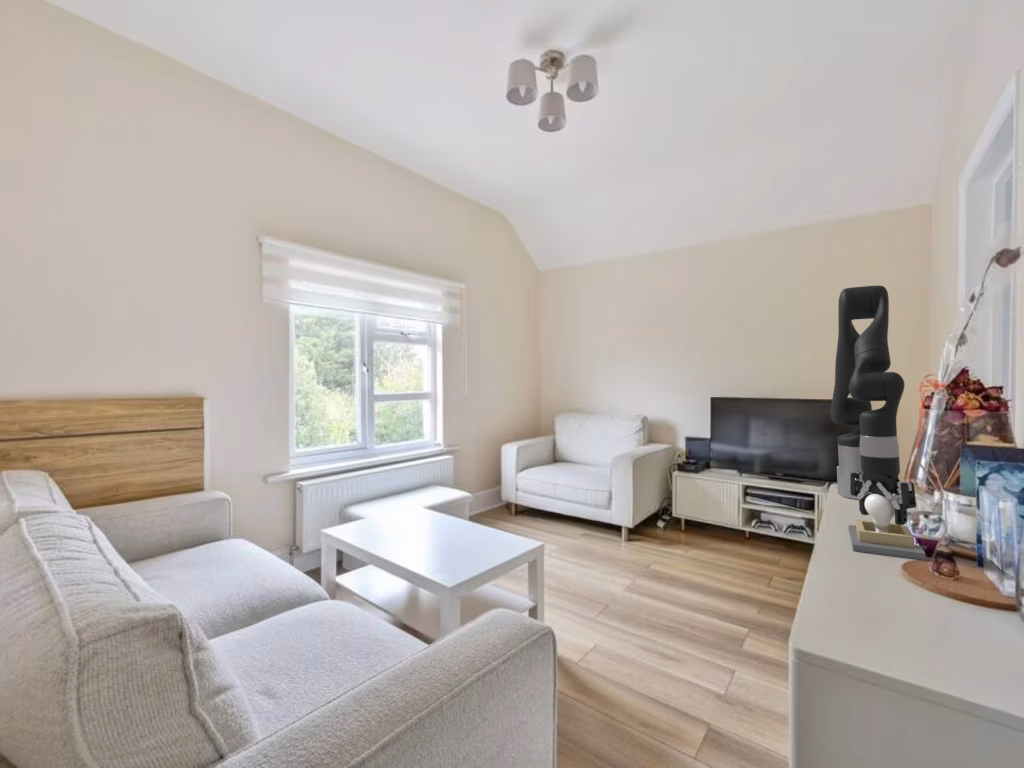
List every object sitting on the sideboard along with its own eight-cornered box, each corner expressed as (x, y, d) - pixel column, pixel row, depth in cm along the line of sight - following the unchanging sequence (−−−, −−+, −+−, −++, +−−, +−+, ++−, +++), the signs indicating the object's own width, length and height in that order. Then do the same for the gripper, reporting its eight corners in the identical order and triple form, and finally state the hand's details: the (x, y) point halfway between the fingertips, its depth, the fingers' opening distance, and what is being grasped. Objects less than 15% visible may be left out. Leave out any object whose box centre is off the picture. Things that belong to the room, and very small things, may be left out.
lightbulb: (872, 541, 110) (870, 495, 110) (860, 532, 116) (859, 489, 116) (904, 542, 108) (902, 496, 108) (890, 533, 114) (889, 490, 114)
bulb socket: (848, 530, 122) (847, 515, 122) (912, 537, 115) (911, 521, 115) (853, 550, 108) (852, 534, 108) (925, 560, 101) (924, 542, 101)
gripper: (922, 456, 105) (926, 526, 105) (863, 448, 119) (866, 509, 119) (896, 459, 104) (900, 530, 104) (840, 450, 118) (843, 513, 118)
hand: (882, 519), depth 111 cm, fingers open, 8 cm apart
